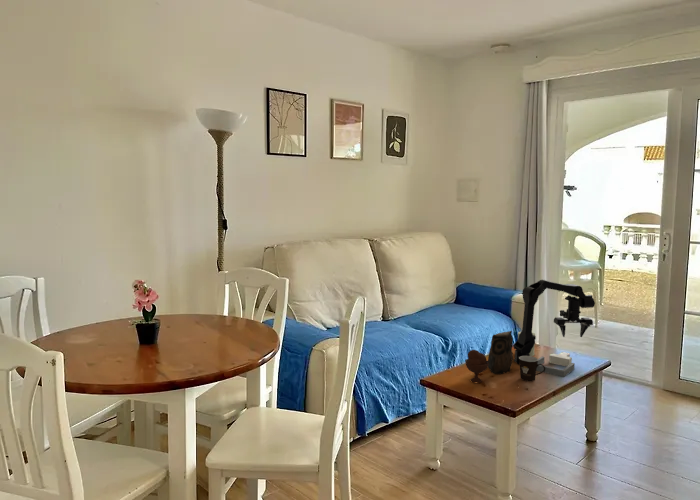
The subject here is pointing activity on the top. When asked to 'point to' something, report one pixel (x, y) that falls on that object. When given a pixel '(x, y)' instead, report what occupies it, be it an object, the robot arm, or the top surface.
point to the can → (532, 348)
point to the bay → (554, 370)
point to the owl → (501, 353)
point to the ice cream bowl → (476, 364)
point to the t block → (560, 359)
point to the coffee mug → (528, 367)
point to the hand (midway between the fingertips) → (572, 337)
